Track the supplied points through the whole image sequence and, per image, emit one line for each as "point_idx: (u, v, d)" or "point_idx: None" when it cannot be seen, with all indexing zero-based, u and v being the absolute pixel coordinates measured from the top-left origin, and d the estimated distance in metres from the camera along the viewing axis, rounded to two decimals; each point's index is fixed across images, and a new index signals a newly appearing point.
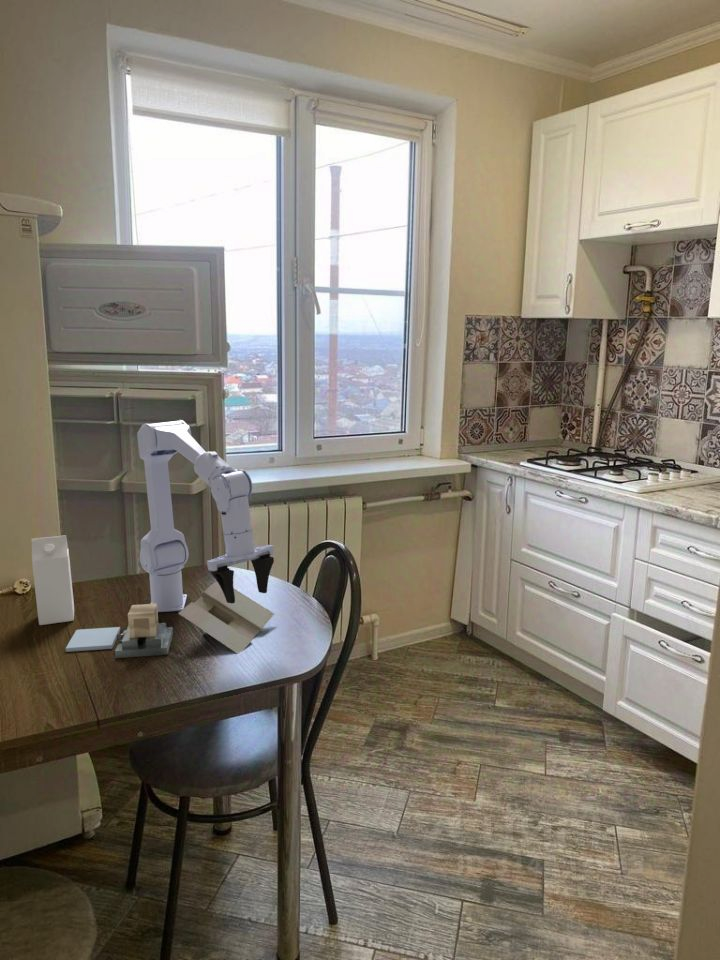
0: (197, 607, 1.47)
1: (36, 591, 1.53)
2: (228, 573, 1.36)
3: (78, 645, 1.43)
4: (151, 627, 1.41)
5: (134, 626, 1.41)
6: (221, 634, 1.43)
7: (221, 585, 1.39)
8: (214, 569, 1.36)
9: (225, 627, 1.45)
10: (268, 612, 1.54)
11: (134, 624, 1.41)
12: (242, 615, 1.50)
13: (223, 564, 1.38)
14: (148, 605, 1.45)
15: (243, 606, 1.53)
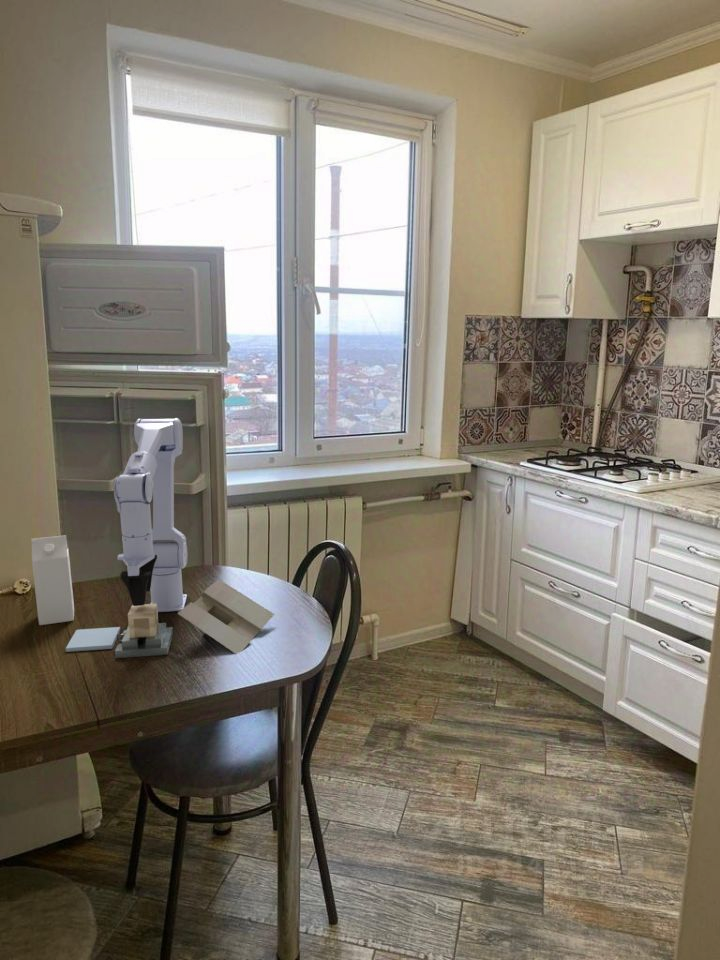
0: (196, 607, 1.47)
1: (36, 591, 1.53)
2: None
3: (78, 645, 1.43)
4: (151, 627, 1.41)
5: (134, 626, 1.41)
6: (220, 635, 1.43)
7: None
8: None
9: (224, 627, 1.45)
10: (268, 612, 1.54)
11: (134, 624, 1.41)
12: (241, 615, 1.50)
13: None
14: (148, 605, 1.45)
15: (243, 606, 1.52)
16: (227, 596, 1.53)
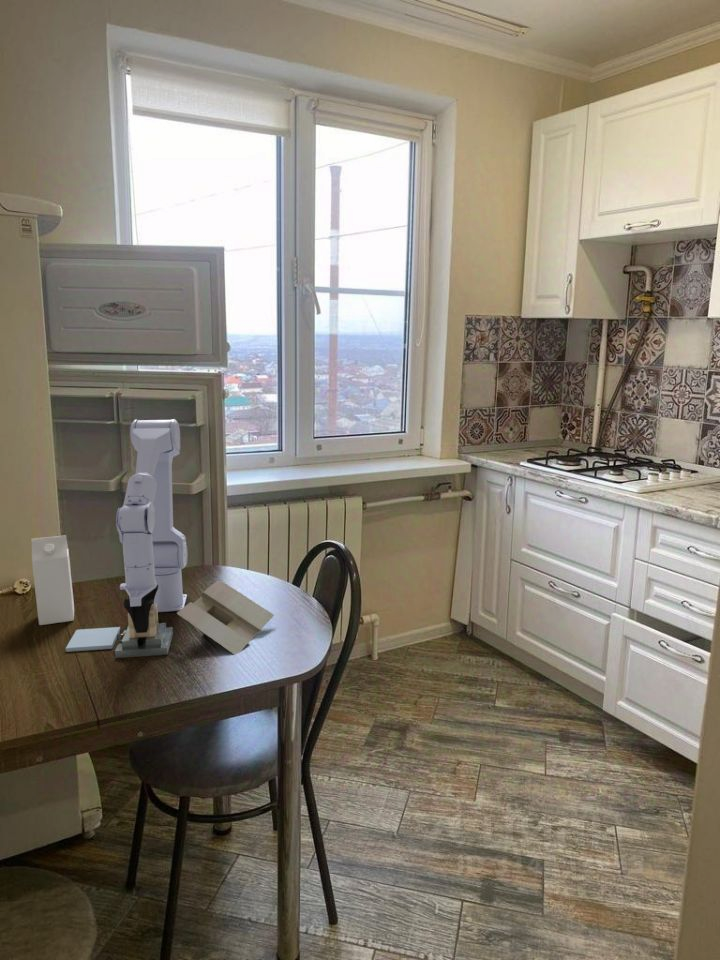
0: (196, 607, 1.47)
1: (36, 591, 1.53)
2: None
3: (78, 645, 1.43)
4: (151, 627, 1.41)
5: None
6: (219, 635, 1.43)
7: None
8: None
9: (223, 628, 1.45)
10: (268, 613, 1.53)
11: None
12: (241, 616, 1.50)
13: None
14: None
15: (243, 607, 1.52)
16: (226, 596, 1.53)
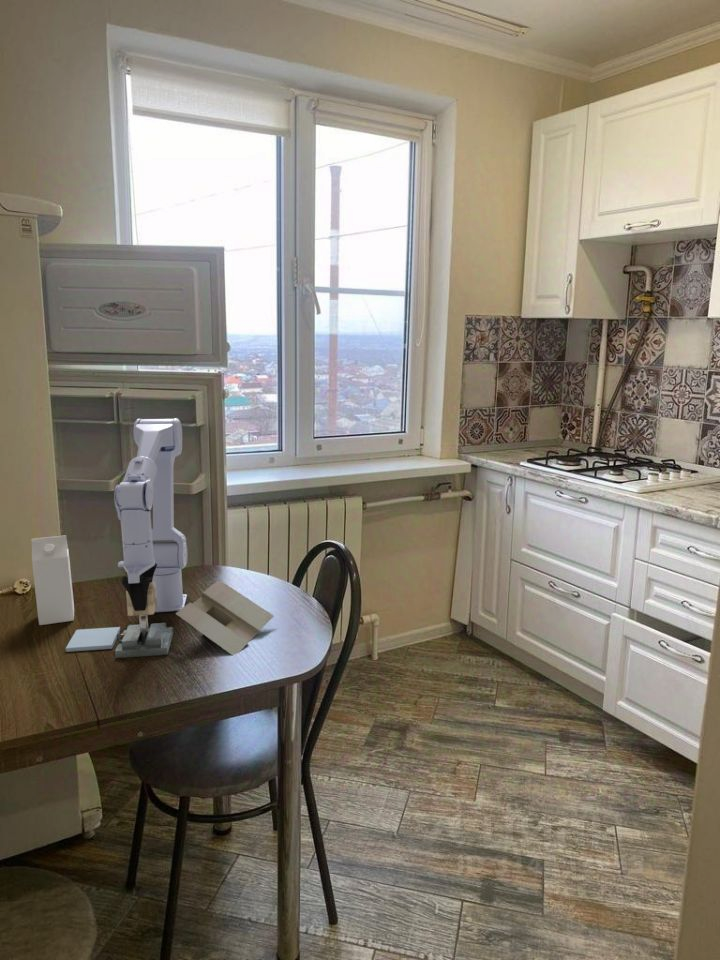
0: (195, 608, 1.46)
1: (36, 591, 1.53)
2: None
3: (78, 645, 1.43)
4: (149, 605, 1.40)
5: None
6: (218, 636, 1.43)
7: None
8: None
9: (222, 628, 1.45)
10: (268, 614, 1.53)
11: None
12: (240, 616, 1.49)
13: None
14: None
15: (243, 607, 1.52)
16: (226, 597, 1.52)
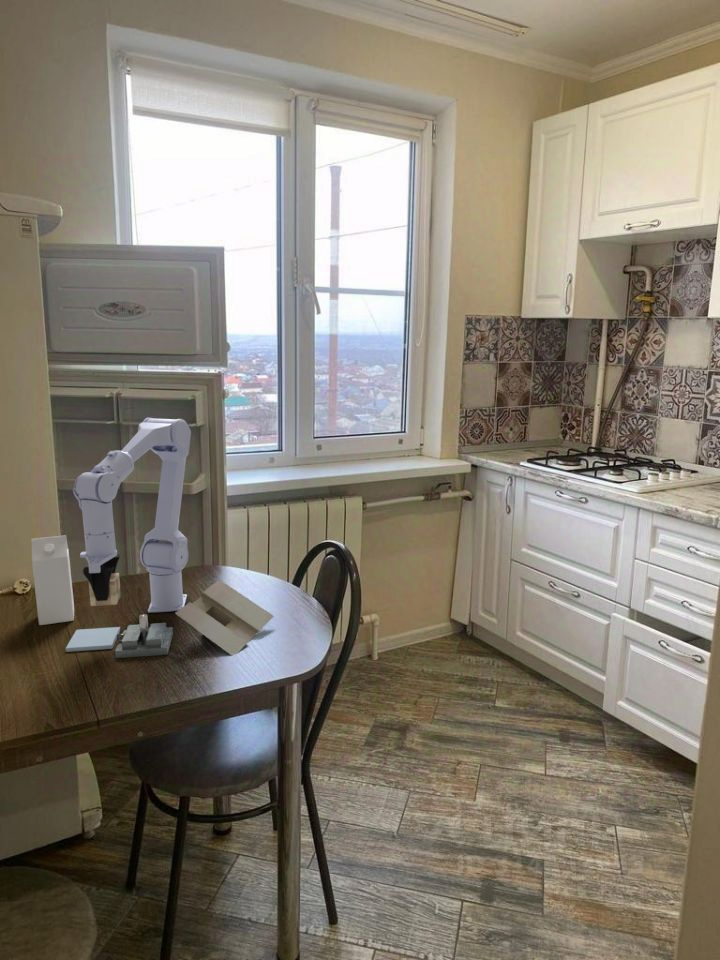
0: (195, 607, 1.46)
1: (36, 591, 1.53)
2: None
3: (78, 645, 1.43)
4: (112, 595, 1.42)
5: None
6: (217, 636, 1.43)
7: None
8: None
9: (221, 628, 1.45)
10: (268, 614, 1.53)
11: None
12: (240, 616, 1.49)
13: None
14: None
15: (242, 607, 1.52)
16: (226, 597, 1.52)
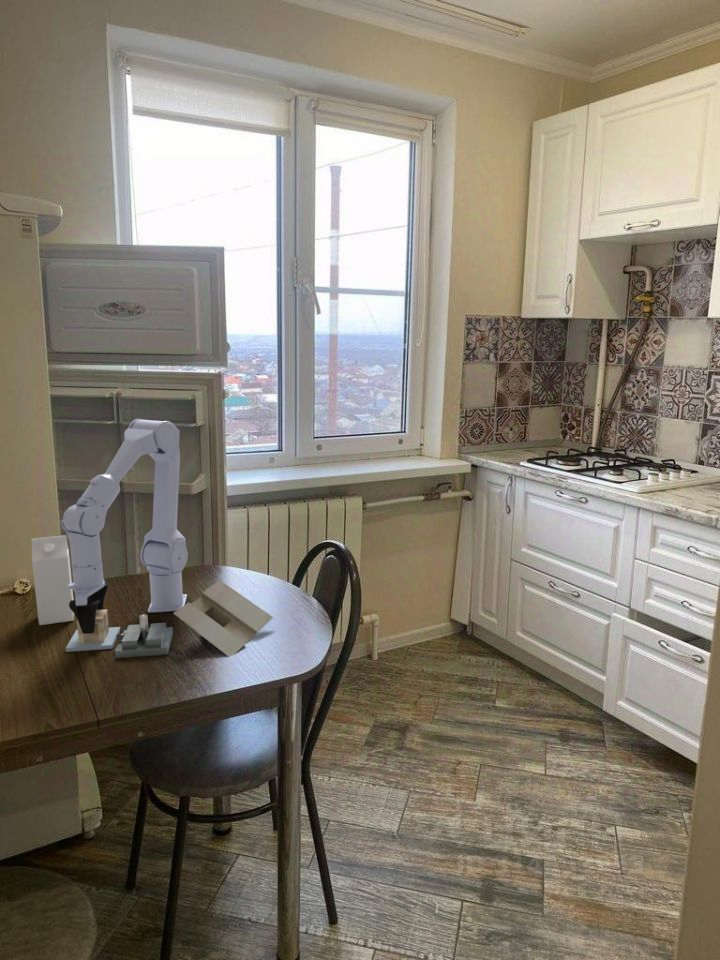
0: (193, 608, 1.46)
1: (36, 591, 1.53)
2: None
3: (78, 645, 1.43)
4: (100, 632, 1.44)
5: None
6: (215, 636, 1.42)
7: None
8: None
9: (220, 629, 1.44)
10: (267, 615, 1.52)
11: None
12: (239, 617, 1.49)
13: None
14: (98, 611, 1.47)
15: (242, 608, 1.51)
16: (226, 597, 1.52)
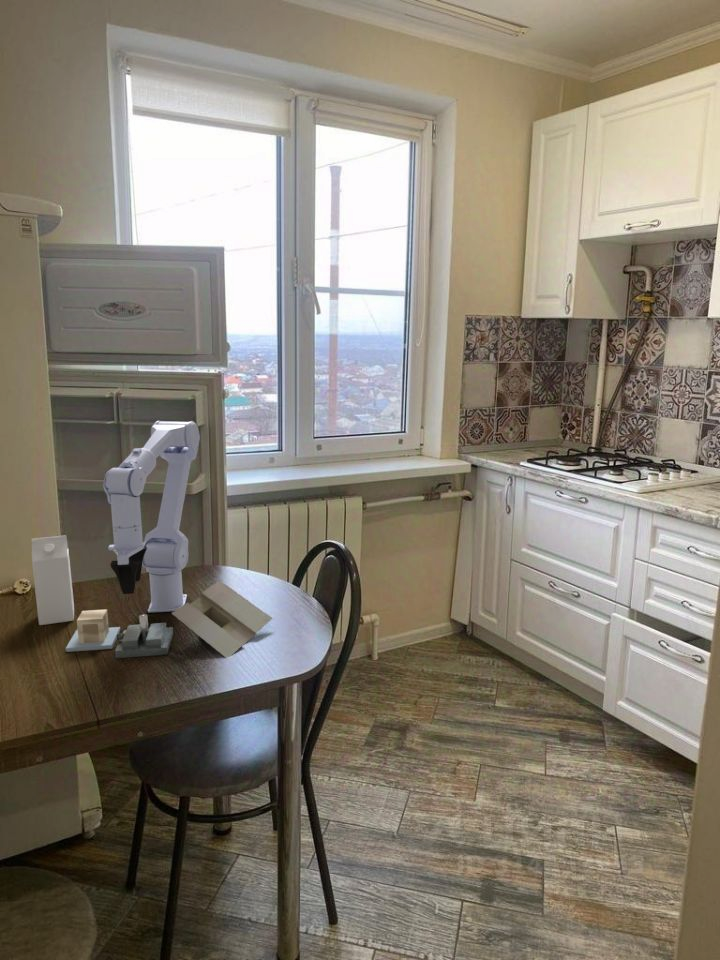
0: (192, 608, 1.46)
1: (36, 591, 1.53)
2: None
3: (78, 645, 1.43)
4: (100, 632, 1.44)
5: (83, 632, 1.44)
6: (212, 637, 1.42)
7: None
8: None
9: (218, 629, 1.44)
10: (266, 616, 1.52)
11: (83, 630, 1.43)
12: (237, 618, 1.48)
13: None
14: (98, 611, 1.47)
15: (241, 609, 1.51)
16: (225, 598, 1.52)
